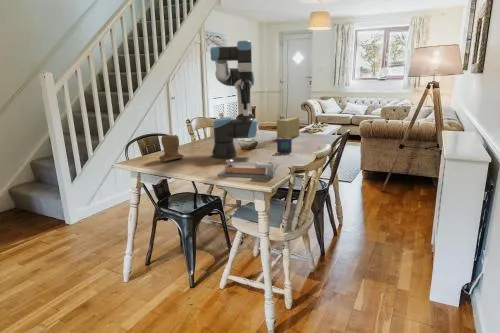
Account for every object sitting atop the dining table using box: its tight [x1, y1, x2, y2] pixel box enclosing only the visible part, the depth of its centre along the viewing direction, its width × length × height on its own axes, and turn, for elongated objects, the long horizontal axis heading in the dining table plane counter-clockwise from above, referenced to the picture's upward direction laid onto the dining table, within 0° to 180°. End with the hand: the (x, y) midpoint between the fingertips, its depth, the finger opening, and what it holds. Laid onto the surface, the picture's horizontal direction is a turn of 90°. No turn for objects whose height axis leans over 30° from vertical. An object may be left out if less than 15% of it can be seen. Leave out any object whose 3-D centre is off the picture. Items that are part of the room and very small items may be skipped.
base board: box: [217, 161, 280, 180], centre depth 180 cm, size 26×26×1 cm
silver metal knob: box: [225, 158, 235, 166], centre depth 173 cm, size 4×4×3 cm
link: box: [224, 165, 266, 174], centre depth 172 cm, size 21×5×3 cm, turn 78°
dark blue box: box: [276, 136, 293, 154], centre depth 216 cm, size 9×3×11 cm, turn 95°
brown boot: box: [158, 134, 185, 163], centre depth 204 cm, size 15×12×15 cm
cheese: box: [276, 116, 300, 140], centre depth 265 cm, size 22×10×15 cm, turn 136°
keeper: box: [255, 159, 276, 178], centre depth 169 cm, size 9×8×6 cm
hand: (246, 115), depth 190 cm, fingers closed
